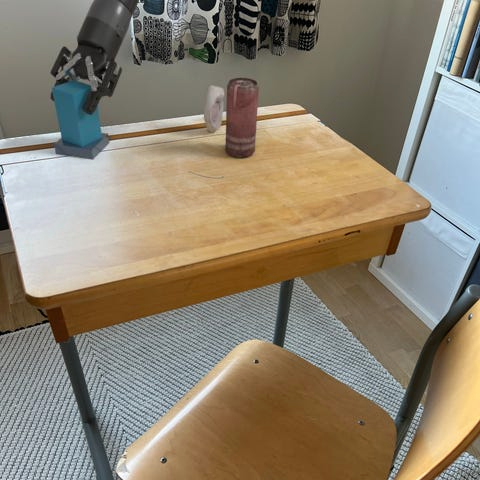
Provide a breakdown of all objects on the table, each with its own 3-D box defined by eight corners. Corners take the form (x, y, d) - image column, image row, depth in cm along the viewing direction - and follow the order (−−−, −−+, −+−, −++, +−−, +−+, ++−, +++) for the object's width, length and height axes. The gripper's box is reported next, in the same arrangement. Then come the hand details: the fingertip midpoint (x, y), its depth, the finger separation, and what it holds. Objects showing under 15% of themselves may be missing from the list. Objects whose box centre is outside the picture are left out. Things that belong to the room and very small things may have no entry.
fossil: (211, 139, 111) (211, 91, 104) (198, 134, 112) (197, 87, 105) (226, 130, 114) (227, 83, 107) (213, 126, 116) (213, 79, 109)
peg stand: (55, 153, 102) (44, 102, 95) (73, 137, 108) (65, 88, 101) (93, 159, 101) (85, 108, 94) (109, 142, 107) (102, 93, 100)
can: (220, 156, 105) (222, 84, 95) (230, 144, 109) (233, 74, 100) (249, 161, 103) (253, 89, 94) (258, 149, 108) (262, 79, 98)
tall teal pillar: (82, 130, 106) (73, 79, 99) (102, 137, 104) (94, 86, 97) (61, 139, 103) (51, 87, 96) (81, 147, 100) (72, 94, 94)
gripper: (65, 8, 96) (30, 88, 97) (122, 22, 91) (85, 106, 92) (89, 34, 103) (57, 108, 104) (144, 48, 98) (109, 126, 99)
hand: (70, 107), depth 98 cm, fingers open, 8 cm apart
